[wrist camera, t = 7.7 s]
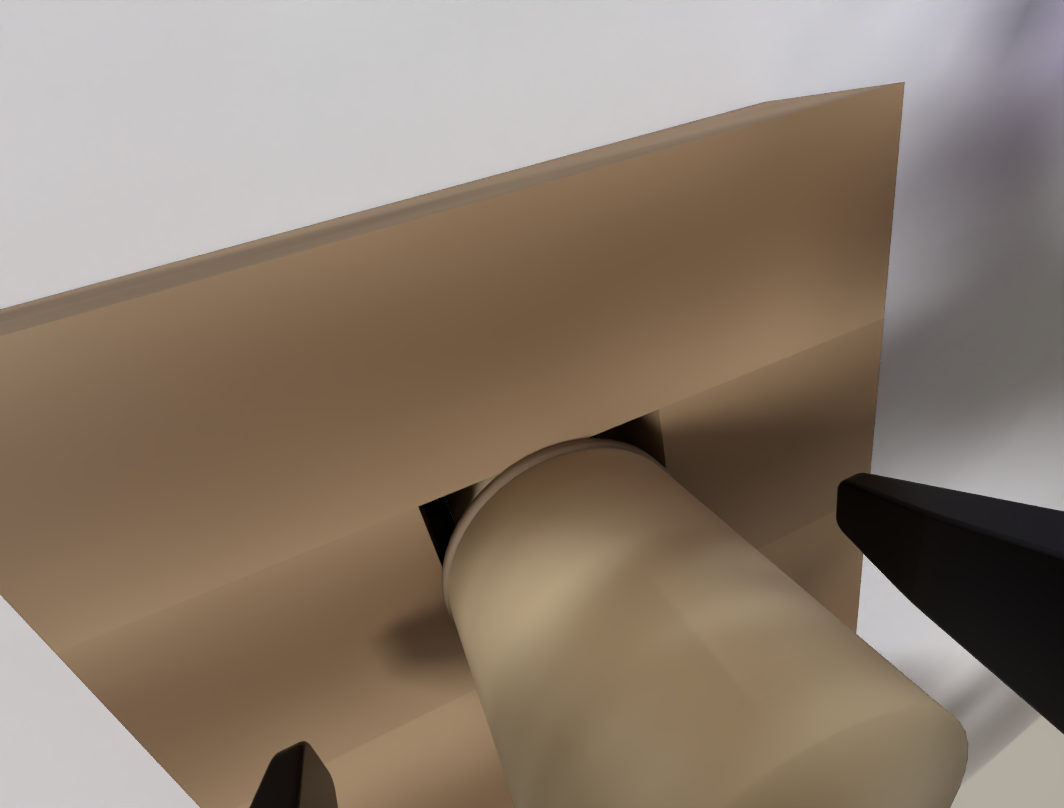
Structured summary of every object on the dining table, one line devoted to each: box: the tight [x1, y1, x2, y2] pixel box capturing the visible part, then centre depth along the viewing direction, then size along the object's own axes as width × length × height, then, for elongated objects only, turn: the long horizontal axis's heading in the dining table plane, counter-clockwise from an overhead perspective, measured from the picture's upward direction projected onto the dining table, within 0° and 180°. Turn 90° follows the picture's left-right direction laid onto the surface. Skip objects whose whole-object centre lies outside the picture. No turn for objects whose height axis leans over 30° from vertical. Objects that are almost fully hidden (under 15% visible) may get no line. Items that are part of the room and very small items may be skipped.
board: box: [0, 82, 905, 808], centre depth 12 cm, size 16×14×3 cm
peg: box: [442, 438, 968, 808], centre depth 9 cm, size 4×4×8 cm
